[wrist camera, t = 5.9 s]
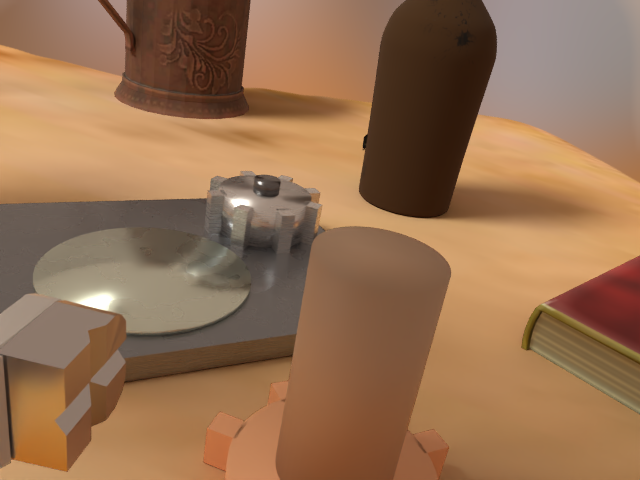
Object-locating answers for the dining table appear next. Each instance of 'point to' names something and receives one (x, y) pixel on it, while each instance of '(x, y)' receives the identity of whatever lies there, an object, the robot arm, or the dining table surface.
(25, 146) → the dining table surface
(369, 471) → the gear
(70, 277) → the carrier plate
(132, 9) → the cup holder
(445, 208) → the olive oil
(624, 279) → the hardcover book
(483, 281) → the dining table surface
